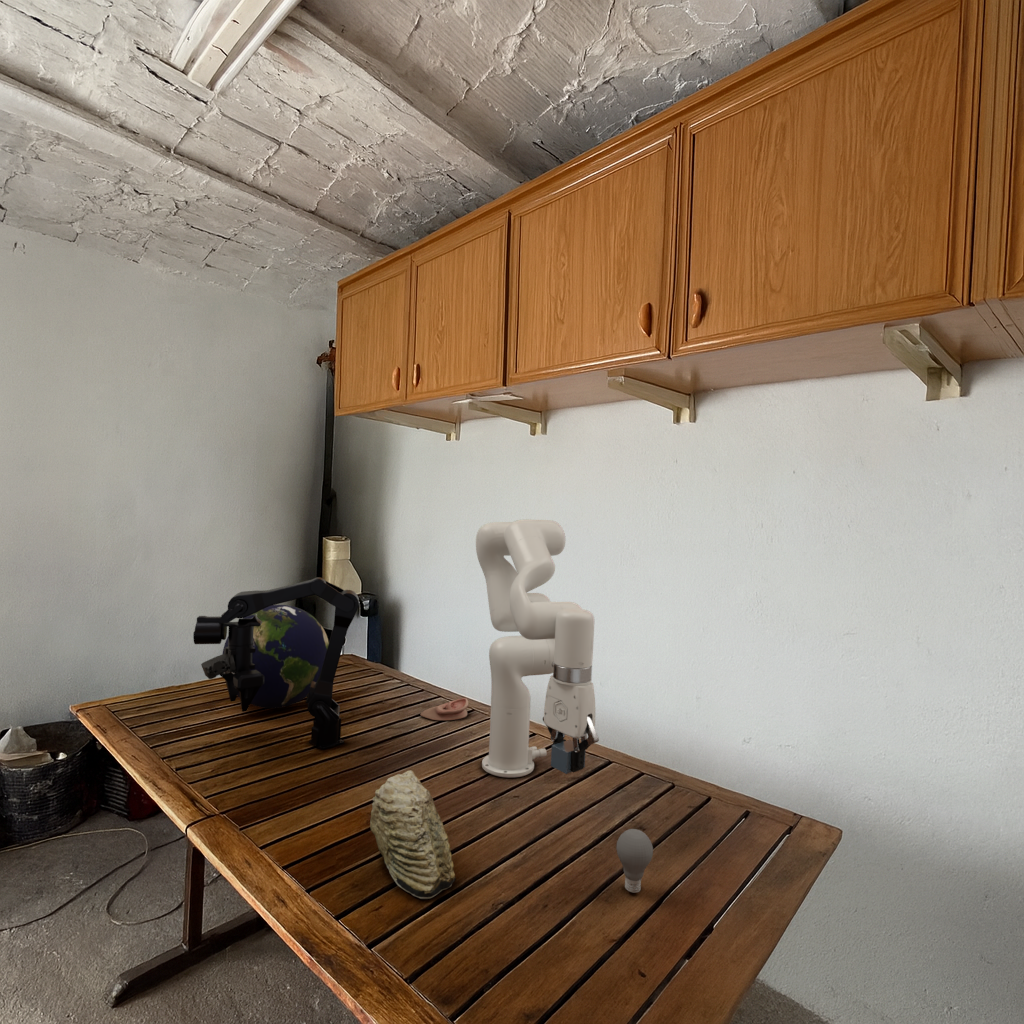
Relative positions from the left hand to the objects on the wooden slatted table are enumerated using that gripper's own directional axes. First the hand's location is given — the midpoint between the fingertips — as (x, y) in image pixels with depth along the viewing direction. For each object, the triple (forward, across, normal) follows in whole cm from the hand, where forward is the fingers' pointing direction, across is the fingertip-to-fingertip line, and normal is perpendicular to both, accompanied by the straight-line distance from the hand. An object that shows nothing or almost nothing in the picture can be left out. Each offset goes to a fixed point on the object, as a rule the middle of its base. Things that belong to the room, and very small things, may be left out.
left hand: (238, 706), depth 157 cm
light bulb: (+10, +96, +35) cm, 103 cm away
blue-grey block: (-2, +76, +39) cm, 85 cm away
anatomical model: (+10, +8, +56) cm, 58 cm away
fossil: (+10, +70, +8) cm, 71 cm away
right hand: (-3, +76, +39) cm, 85 cm away
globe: (+10, -25, +18) cm, 33 cm away
